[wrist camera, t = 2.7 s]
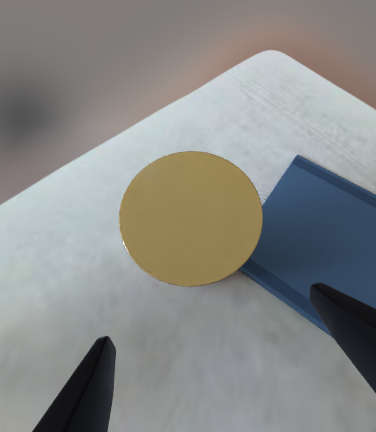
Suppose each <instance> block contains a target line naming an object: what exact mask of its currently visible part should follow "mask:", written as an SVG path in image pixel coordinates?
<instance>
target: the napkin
mask: <svg viewBox="0 0 376 432" xmlns="http://www.w3.org/2000/svg"><path fill="white" fill-rule="evenodd" d="M262 212H263V225H262V231H261V236H260V239H259V241H258V244H257V246H256V248H255V250H254V252H253V254H252V255H251V256H250V258H249V259H248V260H247V262H246V263H245V264H244V265H242V266H241V267H240V268H239V270H240V271H242V272H243V273H244V274H246V275H247V276H249V277H250V278H251V279H253V280H254V281H255V282H257V283H258V284H260V285H261V286H262V287H264V288H265V289H267V290H268V291H269V292H271V293H272V294H273V295H275V296H276V297H278V298H279V299H280V300H282V301H283V302H285V303H286V304H287V305H289V306H290V307H291V308H293V309H294V310H296V311H297V312H298V313H300V314H301V315H303V316H304V317H305V318H307V319H308V320H309V321H311V322H312V323H314V324H315V325H316V326H318V327H319V328H321V329H322V330H323V331H325V332H326V333H327V334H329V335H330V336H332V335H331V333H330V332H329V330H328V328H327V327H326V325H325V324H324V322H323V321H322V319H321V317H320V316H319V314H318V313H317V311H316V310H315V308H314V306H313V305H312V303H311V301H310V298H309V295H310V286H311V285H312V284H314V283H318V282H321V283H324V284H326V285H328V286H330V287H332V288H334V289H336V290H338V291H340V292H343V293H345V294H347V295H349V296H351V297H353V298H355V299H357V300H359V301H361V302H363V303H365V304H367V305H369V306H371V307H373V308H376V195H375V194H373V193H371V192H369V191H367V190H365V189H363V188H362V187H360V186H358V185H356V184H354V183H352V182H350V181H348V180H346V179H344V178H342V177H340V176H338V175H336V174H334V173H332V172H330V171H328V170H326V169H324V168H322V167H321V166H319V165H317V164H315V163H313V162H311V161H309V160H307V159H305V158H303V157H301V156H299V155H297V156H296V157H295V159H294V160H293V162H292V163H291V165H290V166H289V168H288V169H287V171H286V172H285V173H284V175H283V176H282V178H281V179H280V181H279V182H278V184H277V185H276V187H275V188H274V190H273V191H272V193H271V194H270V196H269V197H268V199H267V200H266V201H265V203H264V204H263V206H262ZM332 337H333V336H332Z"/></svg>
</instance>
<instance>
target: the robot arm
mask: <svg viewBox="0 0 376 432" xmlns="http://www.w3.org/2000/svg"><path fill="white" fill-rule="evenodd" d="M309 298H310V301H311V303H312V305H313V306H314V308H315V310H316V311H317V313H318V314H319V316H320V317H321V319H322V321H323V322H324V324H325V325H326V327H327V328H328V330H329V332H330V333H331V335H332V336H333V338H334V339H335V340H336V342H337V343H338V344H339V346H340V347H341V348H342V350H343V351H344V352H345V354H346V355H347V356H348V358H349V359H350V360H351V361H352V363H353V364H354V365H355V367H356V368H357V369H358V371H359V372H360V373H361V375H362V376H363V377H364V378H365V380H366V381H367V382H368V384H369V385H370V386H371V388H372V389H373V390H374V392H375V393H376V308H373V307H371V306H369V305H367V304H365V303H363V302H361V301H359V300H357V299H355V298H353V297H351V296H349V295H347V294H345V293H343V292H340V291H338V290H336V289H334V288H332V287H330V286H328V285H326V284H324V283H321V282H318V283H314V284H312V285H311V286H310V295H309ZM115 359H116V349H115V346H114V344H113V342H112V341H111V339H110V337H109V336H104V337H100V338H98V339H97V340H96V341H95V343H94V344H93V346H92V347H91V349H90V350H89V351H88V353H87V354H86V356H85V357H84V359H83V360H82V361H81V363H80V364H79V366H78V367H77V369H76V370H75V371H74V373H73V374H72V376H71V377H70V378H69V380H68V381H67V383H66V384H65V386H64V387H63V388H62V390H61V391H60V393H59V394H58V396H57V397H56V398H55V400H54V401H53V403H52V404H51V406H50V407H49V408H48V410H47V411H46V413H45V414H44V416H43V417H42V418H41V420H40V421H39V423H38V424H37V426H36V427H35V428H34V430H33V431H32V432H108V425H109V419H110V412H111V406H112V399H113V389H114V374H115Z"/></svg>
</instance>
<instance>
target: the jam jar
mask: <svg viewBox="0 0 376 432" xmlns="http://www.w3.org/2000/svg"><path fill="white" fill-rule="evenodd" d="M262 225H263V212H262V205H261V201H260V198H259V195H258V193H257V190H256V189H255V187H254V185H253V183H252V182H251V180H250V179H249V178H248V177H247V175H246V174H245V173H244V172H243V171H242V170H241V169H239V168H238V167H237V166H236V165H234V164H233V163H231V162H230V161H228V160H226V159H224V158H222V157H219V156H216V155H214V154H210V153H205V152H197V151H187V152H179V153H174V154H170V155H167V156H164V157H162V158H160V159H157V160H156V161H154V162H152V163H150V164H149V165H148V166H146V167H145V168H144V169H142V170H141V171H140V172H139V173H138V174H137V175H136V177H135V178H134V179H133V180H132V181H131V183H130V185H129V186H128V188H127V190H126V192H125V194H124V196H123V199H122V202H121V206H120V211H119V228H120V234H121V238H122V241H123V243H124V246H125V248H126V250H127V252H128V253H129V255H130V257H131V258H132V259H133V260H134V262H135V263H136V264H137V265H138V266H139V267H140V268H141V269H142V270H143V271H145V272H146V273H148V274H149V275H150V276H152V277H154V278H156V279H158V280H160V281H163V282H165V283H168V284H172V285H177V286H186V287H194V286H203V285H208V284H212V283H215V282H217V281H220V280H222V279H224V278H226V277H228V276H230V275H231V274H233V273H234V272H236V271H237V270H238V269H239V268H240V267H241V266H242V265H244V264H245V263H246V262H247V260H248V259H249V258H250V256H251V255H252V254H253V252H254V250H255V248H256V246H257V244H258V241H259V239H260V236H261V231H262Z"/></svg>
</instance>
